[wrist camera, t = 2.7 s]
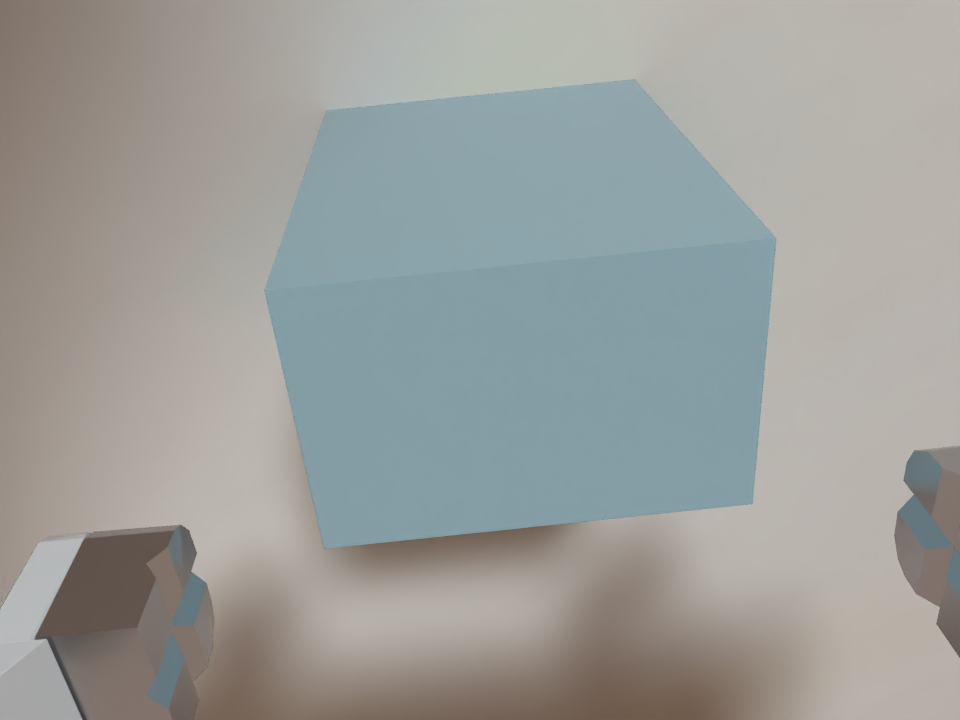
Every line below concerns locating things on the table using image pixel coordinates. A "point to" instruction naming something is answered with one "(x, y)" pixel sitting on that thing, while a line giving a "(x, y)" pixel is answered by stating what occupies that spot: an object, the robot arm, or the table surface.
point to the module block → (519, 316)
